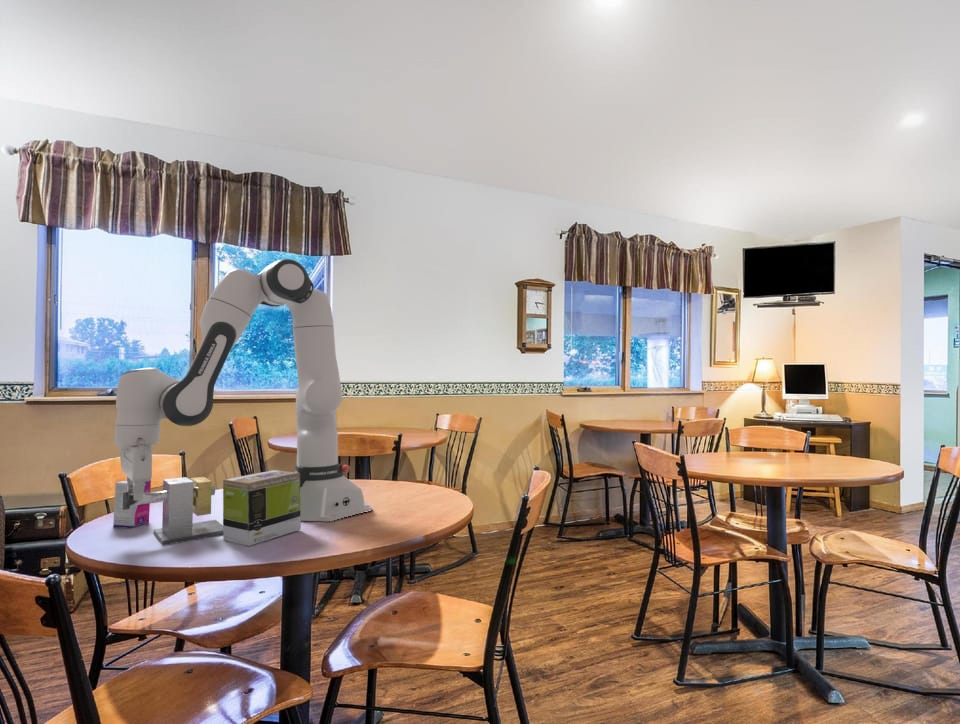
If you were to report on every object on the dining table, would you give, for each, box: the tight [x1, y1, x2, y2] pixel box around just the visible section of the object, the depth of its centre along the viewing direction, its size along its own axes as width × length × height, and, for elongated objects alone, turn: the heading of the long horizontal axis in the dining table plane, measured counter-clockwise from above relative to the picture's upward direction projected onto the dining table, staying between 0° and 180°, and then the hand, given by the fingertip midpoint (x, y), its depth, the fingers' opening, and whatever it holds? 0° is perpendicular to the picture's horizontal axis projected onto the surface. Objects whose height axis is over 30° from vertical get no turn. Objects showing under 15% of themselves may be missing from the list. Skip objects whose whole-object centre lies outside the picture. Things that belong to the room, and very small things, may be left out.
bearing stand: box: [153, 476, 223, 546], centre depth 128 cm, size 14×12×13 cm
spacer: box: [190, 476, 212, 517], centre depth 130 cm, size 3×8×8 cm, turn 40°
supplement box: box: [112, 479, 152, 529], centre depth 136 cm, size 6×6×12 cm
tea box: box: [222, 469, 302, 547], centre depth 127 cm, size 15×10×15 cm, turn 149°
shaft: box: [121, 484, 216, 510], centre depth 126 cm, size 19×4×4 cm, turn 130°
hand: (134, 496), depth 121 cm, fingers open, 8 cm apart
